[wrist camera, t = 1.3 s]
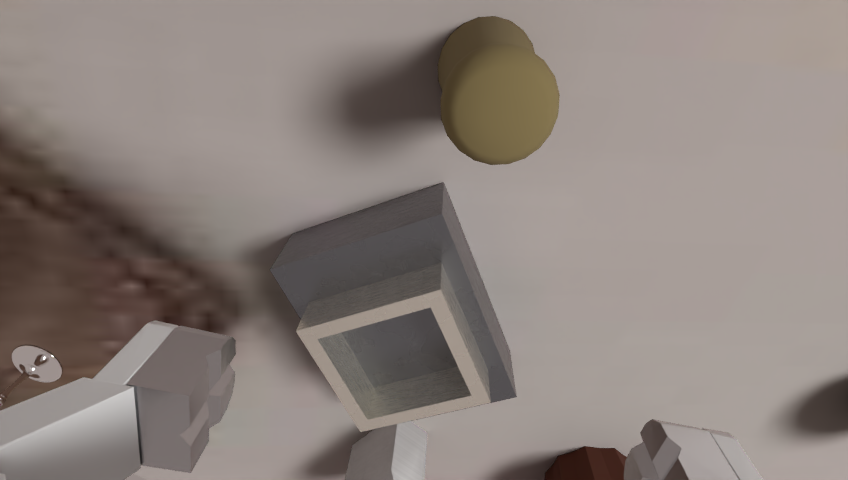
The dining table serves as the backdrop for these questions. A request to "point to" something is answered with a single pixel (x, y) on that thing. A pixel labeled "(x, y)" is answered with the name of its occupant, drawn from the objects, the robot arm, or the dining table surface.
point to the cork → (495, 92)
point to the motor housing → (397, 311)
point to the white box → (389, 454)
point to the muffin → (588, 465)
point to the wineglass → (33, 367)
